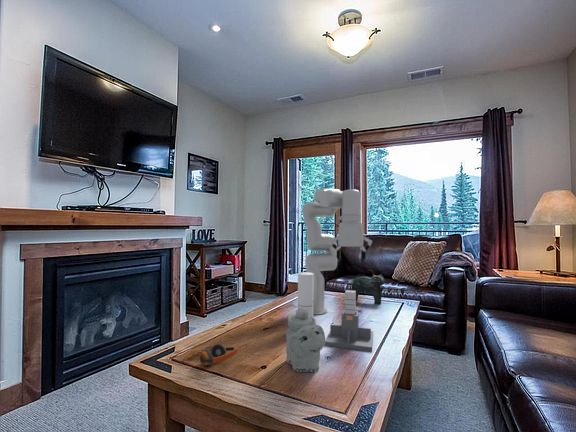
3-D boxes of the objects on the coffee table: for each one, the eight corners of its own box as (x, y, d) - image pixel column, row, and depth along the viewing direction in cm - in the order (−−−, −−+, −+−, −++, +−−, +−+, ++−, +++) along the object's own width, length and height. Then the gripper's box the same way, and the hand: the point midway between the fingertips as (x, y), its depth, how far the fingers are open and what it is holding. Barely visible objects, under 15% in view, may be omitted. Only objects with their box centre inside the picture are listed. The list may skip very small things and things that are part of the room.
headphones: (207, 339, 120) (246, 338, 109) (209, 353, 119) (249, 353, 109) (170, 355, 105) (211, 355, 95) (173, 371, 105) (214, 373, 94)
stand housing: (324, 345, 121) (325, 317, 122) (331, 330, 139) (331, 305, 139) (372, 351, 116) (372, 322, 117) (373, 334, 133) (373, 309, 134)
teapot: (319, 383, 92) (319, 320, 93) (273, 374, 98) (274, 314, 98) (332, 361, 108) (332, 307, 108) (291, 354, 113) (292, 302, 114)
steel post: (344, 336, 126) (344, 292, 127) (345, 332, 130) (346, 290, 130) (354, 337, 125) (355, 292, 125) (355, 333, 129) (355, 290, 129)
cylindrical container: (315, 327, 143) (315, 273, 144) (309, 331, 136) (310, 275, 137) (301, 324, 146) (301, 271, 146) (295, 329, 139) (295, 274, 140)
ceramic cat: (384, 303, 187) (384, 270, 187) (381, 305, 181) (381, 271, 182) (353, 299, 198) (353, 267, 198) (349, 301, 192) (349, 268, 193)
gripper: (328, 219, 128) (328, 260, 127) (372, 219, 123) (372, 262, 122) (331, 219, 135) (331, 258, 134) (372, 219, 130) (372, 260, 129)
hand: (350, 260), depth 128 cm, fingers open, 9 cm apart
